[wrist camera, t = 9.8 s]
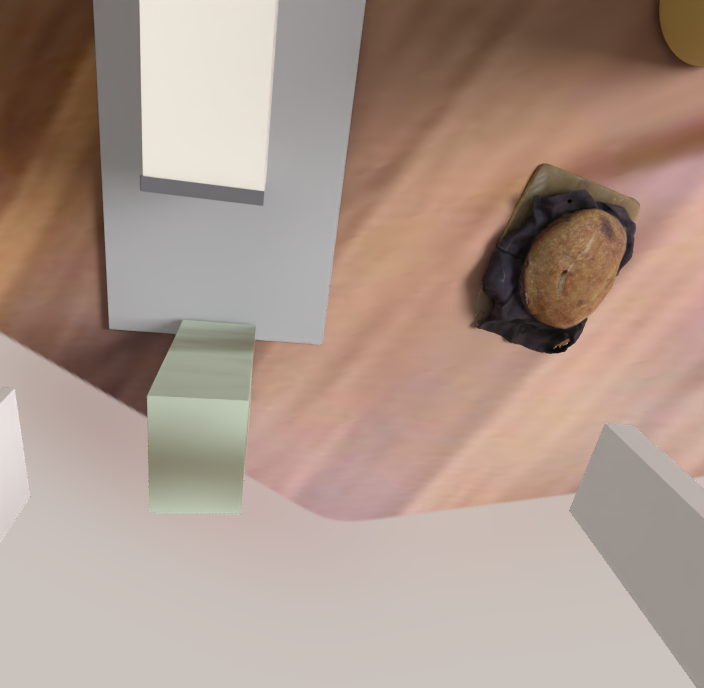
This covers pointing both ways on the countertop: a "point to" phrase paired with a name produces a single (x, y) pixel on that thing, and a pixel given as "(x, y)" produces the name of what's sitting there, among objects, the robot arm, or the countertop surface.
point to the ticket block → (224, 159)
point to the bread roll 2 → (556, 260)
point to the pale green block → (201, 420)
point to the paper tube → (684, 29)
